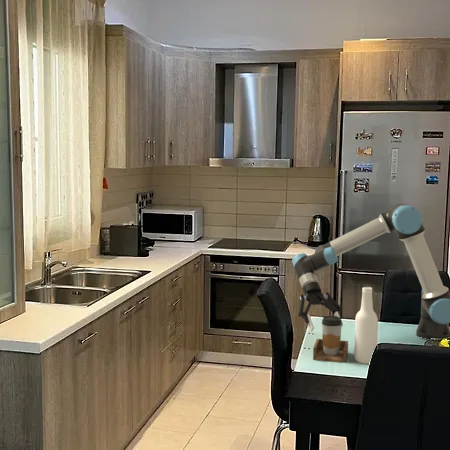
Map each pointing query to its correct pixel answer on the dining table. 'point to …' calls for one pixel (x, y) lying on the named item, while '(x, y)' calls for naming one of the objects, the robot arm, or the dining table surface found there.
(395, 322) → the dining table surface
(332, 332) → the coffee cup
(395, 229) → the robot arm
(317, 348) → the cup holder
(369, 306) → the white bottle
